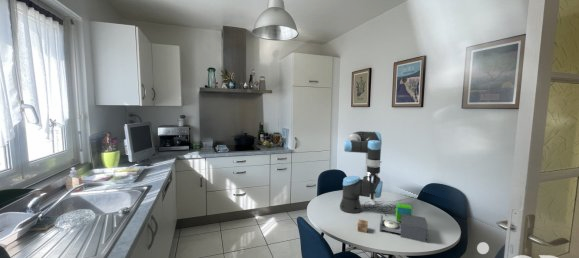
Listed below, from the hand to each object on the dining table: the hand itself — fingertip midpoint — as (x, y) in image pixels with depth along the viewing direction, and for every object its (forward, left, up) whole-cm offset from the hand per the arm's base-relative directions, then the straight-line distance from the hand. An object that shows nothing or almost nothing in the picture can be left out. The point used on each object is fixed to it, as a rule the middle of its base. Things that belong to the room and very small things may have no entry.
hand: (372, 203), depth 143 cm
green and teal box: (+18, +19, -14) cm, 29 cm away
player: (+23, 0, -14) cm, 27 cm away
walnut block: (-4, -8, -14) cm, 17 cm away
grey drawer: (+12, 0, -13) cm, 18 cm away
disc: (+11, 0, -12) cm, 16 cm away
